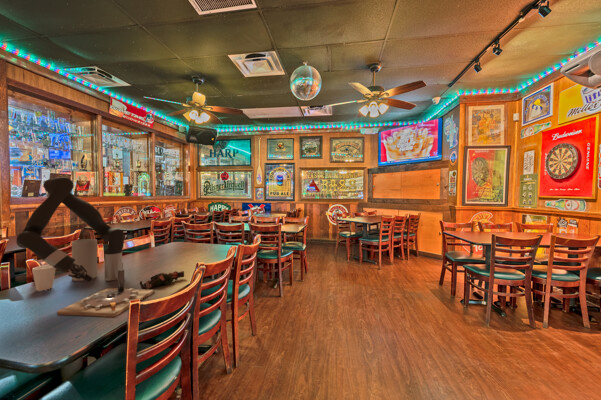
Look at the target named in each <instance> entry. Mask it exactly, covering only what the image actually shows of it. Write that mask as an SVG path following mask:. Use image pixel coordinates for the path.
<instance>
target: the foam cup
mask: <svg viewBox="0 0 601 400" xmlns="http://www.w3.org/2000/svg"><path fill="white" fill-rule="evenodd" d="M31 270H32V277H33V280H34V285H35V289H36V291H37V290H38V291H37V292H43V291H42V290H45V291H48V290H47V289H49V290H51V289H53V285H54V279H55V275H56V270H57V269H55V268H54V267H52V266H51V265H49V264H45V265H39V266H36V267H32V269H31ZM50 288H51V289H50Z"/></svg>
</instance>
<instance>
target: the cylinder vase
mask: <svg viewBox="0 0 601 400" xmlns="http://www.w3.org/2000/svg"><path fill="white" fill-rule="evenodd" d="M71 257H72V258H74V259H75V262H73V263H74V264H77V265H79V266H80V265H82V266H83V267H84V268H85V270H86V271H87V274H88V275H89V276H91V277H92V278H93V279H95V278H97V276H98V239H96V238H87V239H85V238H84V239H77V240H76V239H75V240H73V241H71ZM78 273H79V272H78ZM71 280H72V281H73V282H85V281H86V280H84V279H83V278H82V279H81V278H80V279H77V278H74V277H71Z"/></svg>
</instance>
